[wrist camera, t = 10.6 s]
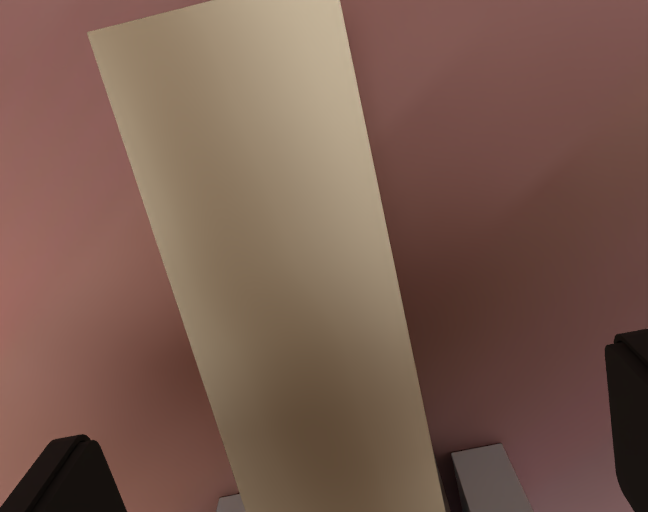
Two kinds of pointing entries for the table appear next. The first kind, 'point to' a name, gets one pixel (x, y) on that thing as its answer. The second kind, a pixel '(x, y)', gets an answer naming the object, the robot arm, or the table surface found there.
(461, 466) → the gray forked clamp
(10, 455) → the table surface
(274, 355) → the tan and gray block
